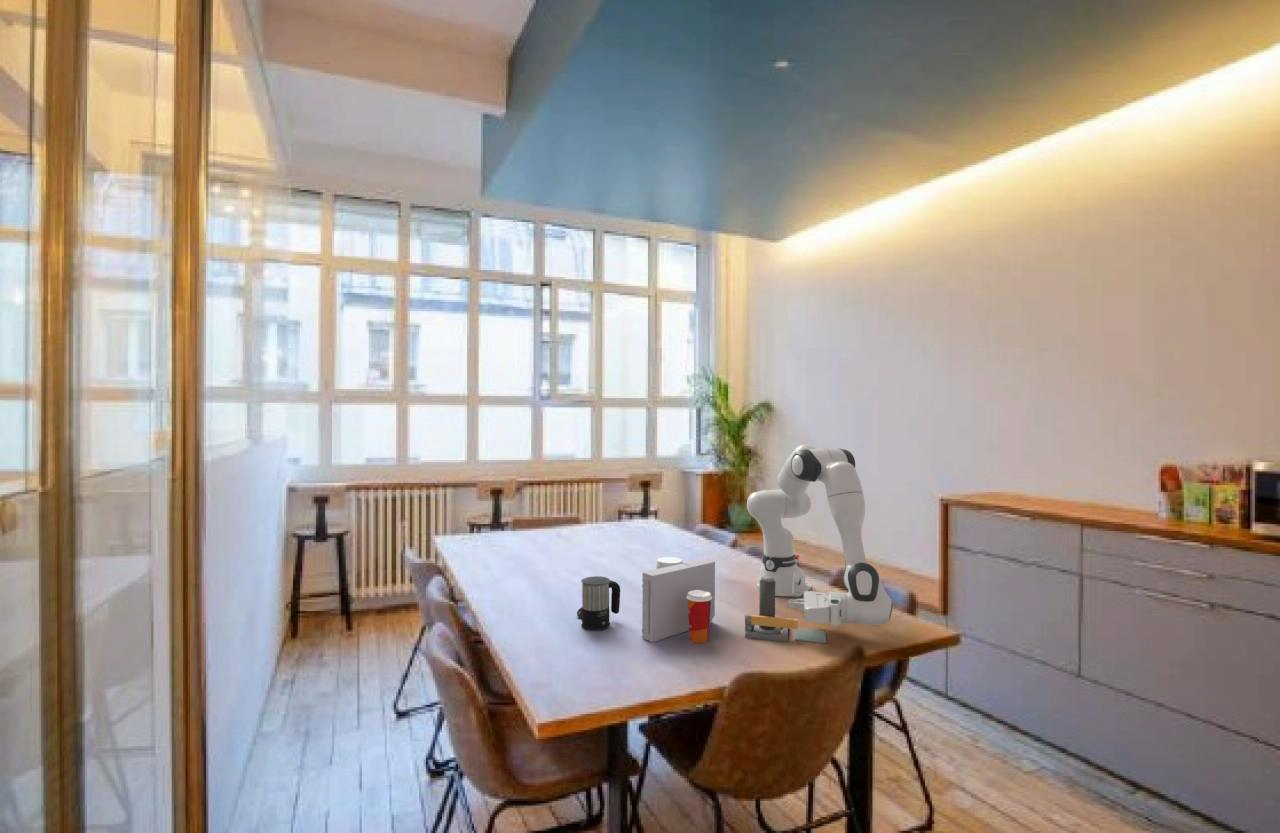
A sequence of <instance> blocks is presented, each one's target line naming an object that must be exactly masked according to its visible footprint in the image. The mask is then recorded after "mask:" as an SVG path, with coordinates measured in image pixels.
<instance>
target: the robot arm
mask: <svg viewBox="0 0 1280 833" xmlns="http://www.w3.org/2000/svg"><path fill="white" fill-rule="evenodd" d="M776 481H777V485H778V487H779V489H764V490H763V489H762V490H759V491H754V492H752V493H750V495H749V496H748V498H747V500H746V508H747V511H748V513H749V515H750V516H751V517H752V518H753V519H754V520H755V521H756V522H757V523H758V525H759V526H760V528H761V532H762V537H763V538H762V539H763V553H762V557H761V558H762V565H761V566H760V568H759V570H760V571H759V578H758V579H759V581H758V583H756V587H757V588H758V591H760V580H761V577H762V576H770V577H773V578H774V581H775V597H797V598H796V599H788V608H789V609H795V610H798V611H803V616H804V617H803V619H804V620H805V621H808V622H813V623H819V624H829V625H830V626H832V627H837V626H838V627H839V625H840V624H842V623H843V624H849V623H856V624H859V625H864V626H866V625H868V626H879V625H880V626H881V625H885V624H887V623H888V622H889V621H890V619H891V617H892V613H893V601H892V599H891V598H890V597H889V595H888V593H887V592H886V589H885V588H884V586H883V584H882V580H881V577H880V575H879V573H878V571H877V569H876V568H875V567H874V566H872V565H871V564H870V563H867V561H866V555H865V548H864V545H863V544H864V543H863V539H862V528H863V523H864V521H865V516H866V504H865V496H864V491H863V487H862V484H861V480H860V477H859V474H858V473H857V471H856V461H855V456H854V455H853V454H852V452H850V451H849V450H847V449H843V448H829V447H822V448H816V447H815V446H813V445H811V444H808V443H807V444H806V443H804V444H800V445H798V446H797V447H796V448H795V449H794V450H793V451H792V453H791V454H790V455H789V456H788V458H787V459H786V461H785V462H784V464H783V466H782V467H781V469H780V471H779V472H778V475H777V480H776ZM811 482H812V483H813V482H814V483H815V482H821V483H823V484H824V485H825V491H826V498H827V503H828V506H829V509H830V513H831V516H832V518H833V521H834V523H835V526H836V528H837V530H838V533H839V536H840V540H841V545H842V549H843V555H844V562H845V567H844V572H843V574H842V584H843V586H844V589H845V590H846V591H847V592H841V591H839V592H835V591H829V592H828V593H825V592H821V591H812V590H811V589H812V588H813V587H812V584H811V583H807V582H806V573H805V572H804V571H803V569H801V567H799V566H798V565H797V562H796V560H797V561H798V560H799V559H800V554H798V553H796V554H795V553H794V536H793V533H792V532H791V531H790V530H789V529H787V528H785V527H784V526H783V524H782V519H792V518H793V519H795V518H800V517H802V516H805V515H807V514H808V513H809V512H810V508H811V498H810V496H809V494H808V493H807V492H806V491H807V490H808V487H809V485H810V483H811ZM801 596H803V598H798V597H801Z"/></svg>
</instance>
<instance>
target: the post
mask: <svg viewBox="0 0 1280 833" xmlns="http://www.w3.org/2000/svg"><path fill="white" fill-rule="evenodd" d="M745 631H751V632H753V627H752V625H746V624H745V623H744V632H745Z"/></svg>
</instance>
